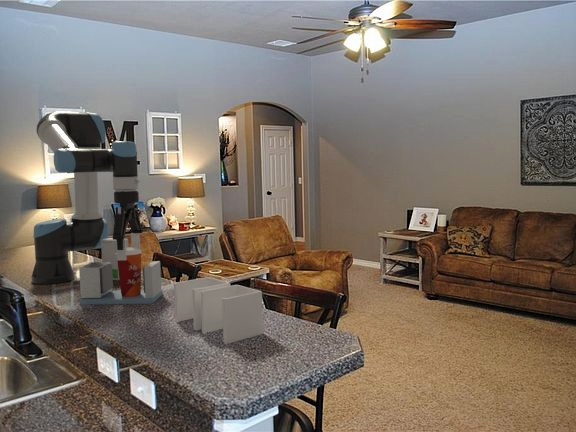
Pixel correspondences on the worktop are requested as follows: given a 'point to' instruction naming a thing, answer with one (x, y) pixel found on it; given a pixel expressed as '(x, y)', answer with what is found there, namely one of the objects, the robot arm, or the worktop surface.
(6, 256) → the worktop surface
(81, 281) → the block
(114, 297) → the base
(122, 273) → the coffee cup
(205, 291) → the grey rectangular blocks
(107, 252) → the skincare box
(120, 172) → the robot arm
